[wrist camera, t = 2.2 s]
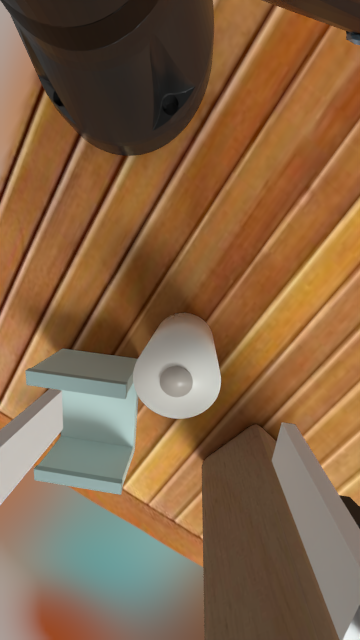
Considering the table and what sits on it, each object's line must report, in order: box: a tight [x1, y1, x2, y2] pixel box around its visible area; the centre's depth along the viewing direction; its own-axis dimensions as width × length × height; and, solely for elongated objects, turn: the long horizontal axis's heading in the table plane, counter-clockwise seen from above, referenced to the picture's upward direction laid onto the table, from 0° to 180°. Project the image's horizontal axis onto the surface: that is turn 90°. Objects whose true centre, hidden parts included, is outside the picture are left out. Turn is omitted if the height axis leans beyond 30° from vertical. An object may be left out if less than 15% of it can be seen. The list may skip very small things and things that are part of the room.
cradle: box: [26, 349, 138, 495], centre depth 26 cm, size 14×10×6 cm
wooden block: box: [202, 424, 339, 640], centre depth 20 cm, size 10×10×20 cm
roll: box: [133, 313, 221, 419], centre depth 22 cm, size 7×7×9 cm
